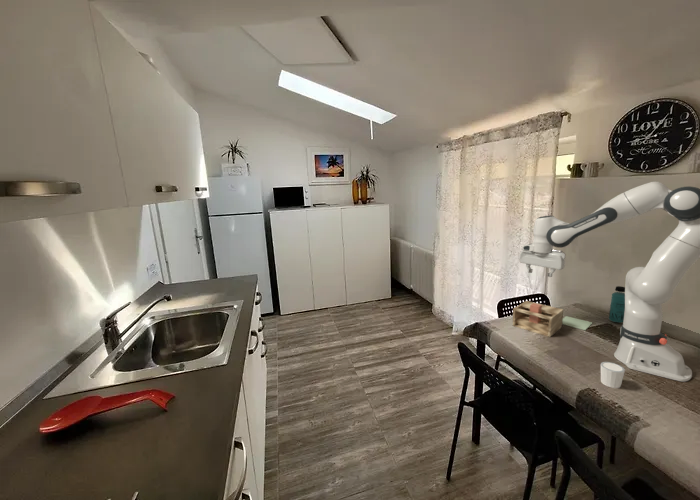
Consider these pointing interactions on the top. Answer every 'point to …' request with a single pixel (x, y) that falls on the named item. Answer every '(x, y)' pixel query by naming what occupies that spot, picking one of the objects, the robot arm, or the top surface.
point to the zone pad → (576, 323)
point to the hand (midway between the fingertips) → (539, 274)
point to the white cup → (612, 374)
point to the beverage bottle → (617, 305)
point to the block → (536, 309)
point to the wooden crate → (549, 317)
